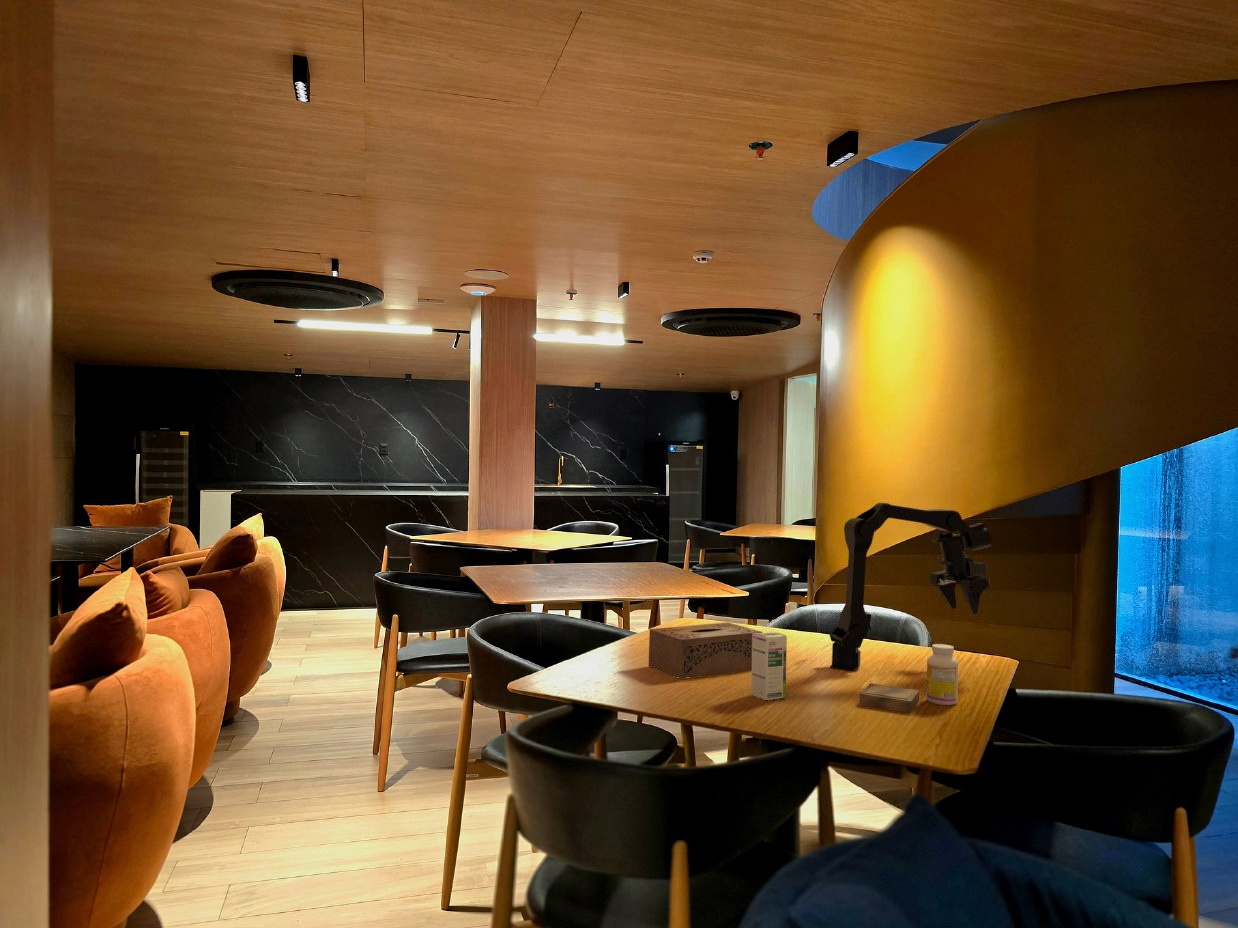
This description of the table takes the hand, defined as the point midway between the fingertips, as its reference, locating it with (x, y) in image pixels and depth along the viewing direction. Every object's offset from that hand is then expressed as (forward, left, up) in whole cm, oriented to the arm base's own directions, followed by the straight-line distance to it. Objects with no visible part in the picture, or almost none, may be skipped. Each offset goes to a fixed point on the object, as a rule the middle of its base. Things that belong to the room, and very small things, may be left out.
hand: (964, 611), depth 231 cm
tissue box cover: (-58, -42, -16) cm, 74 cm away
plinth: (-10, -49, -15) cm, 52 cm away
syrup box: (-35, -60, -15) cm, 71 cm away
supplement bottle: (0, -41, -15) cm, 44 cm away
